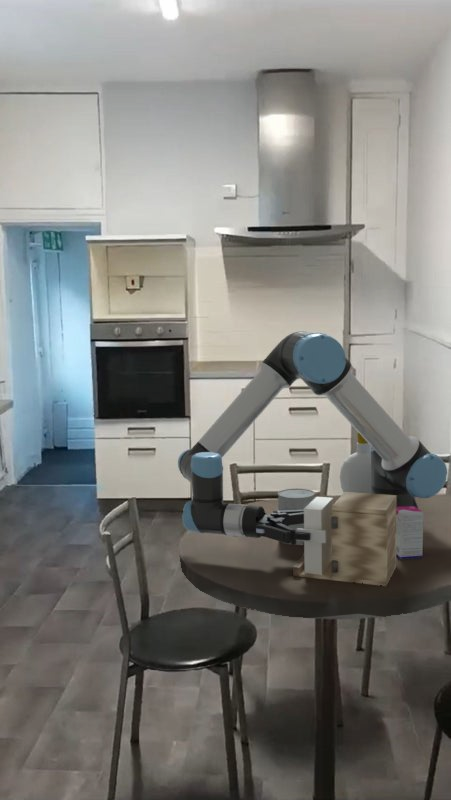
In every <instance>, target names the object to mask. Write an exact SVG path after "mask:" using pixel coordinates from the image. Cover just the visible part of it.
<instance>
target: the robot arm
mask: <svg viewBox="0 0 451 800" xmlns="http://www.w3.org/2000/svg"><path fill="white" fill-rule="evenodd" d="M352 367H353V365H352V362H350V361H349V360H348V358H347V357H346V352H345V350H344V347H343V346H342V345H341V343H340V342H339V341H338V340H337V339H336V338H334V337H333V336H330V335H329V334H326V333H322V332H308V331H304V330H303V331H295V332H292V333H289V334H288V335H286V336H285V337H284V338H283V339H281V341H280V342H278V343H277V345H276V346H275V347H273V349H272V350H271V351H270V353H269V354H268V355H267V356H266V357H265V358H264V359H263V361H262V362H260V370H259V371H258V372H257V373H256V375H255V376H253V378H252V379H251V381H250V382H249V383H248V384H247V385H246V386H245V387H244V389H242V391H241V392H240V393H239V394H238V395H237V396H236V398H234V400H232V401H231V403H230V405H228V406H227V408H226V409H225V410H224V412H222V414H221V415H220V416H218V418H217V419H216V420H215V421H214V422H213V424H212V425H211V426H210V427H209V429H208V430H207V431H205V433H204V434H203V436H202V437H201V438H200V439H198V441H197V442H196V443H195V444H194V445H193V447H191V448H189V449H185V451H182V453H181V454H180V455H179V456H178V460H177V467H178V471H180V474H181V475H182V477H183V478H184V479H186V480H187V481H188V482H189V483H190V484H191V490H192V491H191V492H192V494H191V495H192V498H191V500H189V501H186V503H185V504H184V506H183V509H182V511H183V512H182V515H181V518H182V524H183V527H184V528H185V529H186V530H187V531H189V532H195V533H196V532H197V533H200V534H211V535H215V534H216V535H227V536H232V537H233V538H237V537H244V536H245V537H246V538H254V539H259V538H261V537H263V538H264V537H265V538H268V539H271V540H275V541H278V542H280V541H281V542H280V543H282V542H284V543H283V544H285V543H287V544H286V545H290V544H289V543H291V544H292V546H296V545H295V544H296V539H297V541H305V542H316V543H326V531H325V530H313V529H302V528H297V532H296V530H295V529H293V528H290V527H288V526H289V525H295V524H303V523H304V510H283V511H282V510H278V509H274V510H272V512H271V513H269V514H268V513H266V511H265V508H264V507H263V506H262V505H254V504H253V505H251V504H248V505H246V504H240V503H239V504H238V503H227V502H224V478H223V477H224V465H223V458H224V457H225V455H226V454H227V453H228V451H229V450H231V448H232V447H233V446H234V445H235V444H236V442H237V441H238V440H239V439H240V438H241V437H242V436H243V434H244V433H246V431H247V430H249V428H250V426H251V425H252V424H254V423H255V421H257V418H258V417H260V415H261V414H262V413H263V412H264V411H265V409H266V408H267V407H268V406H269V405H270V404H271V403H272V401H273V400H274V399H276V397H277V396H278V395H279V394H280V393H281V392H282V391H283V390H284V389H289V388H290V387H291V386H292V385H293V383H295V382H296V381H297V380H299V379H301V380H302V381H303V382H304V384H305V385H306V386H308V388H309V389H310V390H311V391H312V392H313V393H314V394H315V395H316V396H319V397H320V396H321V397H322V396H323V397H324V396H325V397H326V399H328V400H329V402H330V403H331V404H332V405H333V406H334V407H335V409H336V410H337V411H338V412H339V413H341V415H342V416H343V417H344V418H345V420H347V421H348V423H349V424H350V425H351V426H352V427H353V428H354V429H355V430H356V431H357V433H358V432H359V433H360V435H361V436H362V437H363V438H364V439H365V440H366V441H367V442H368V443H369V444H370V445H371V450H370V452H371V494H384V495H396V507H406V506H415V507H416V508H418V509H419V510H420V508H419V505H418V501H417V498H419V499H429V498H432V497H434V496H436V495H437V494H439V493H440V491H441V490H442V489H443V488H444V486H445V485H446V481H447V476H448V469H447V464H446V462H445V461H444V460H443V459H442V458H441V457H440V456H439V455H437V454H435V453H431V452H430V451H429V450H428V449H427V448H426V446H425V445H424V444H423V443H422V441H420V439H419V438H417V436H415V435H414V436H411V435H410V436H408V435H407V433H405V432H404V431H403V429H402V428H401V427H400V426H399V425H398V424H397V422H396V421H394V419H393V418H391V416H390V415H389V414H388V413H387V412H386V410H385V409H384V408H383V407H382V406H381V405H380V403H378V401H377V400H376V399H375V398H374V397H373V396H372V394H370V392H369V391H368V390H367V389H366V388H365V387H364V385H362V383H361V382H360V381H359V380H358V379H357V378H356V376H355V375H354V374H353V373H352Z"/></svg>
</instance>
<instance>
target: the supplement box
mask: <svg viewBox="0 0 451 800" xmlns="http://www.w3.org/2000/svg"><path fill="white" fill-rule="evenodd" d="M423 541H424V511H423V510H421V509H420V508H419V509H418V508H416V507H415V506H406V507H396V558H398V559H399V560H409V559H412V560H413V559H421V558H423V546H424V545H423V543H424V542H423Z"/></svg>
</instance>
